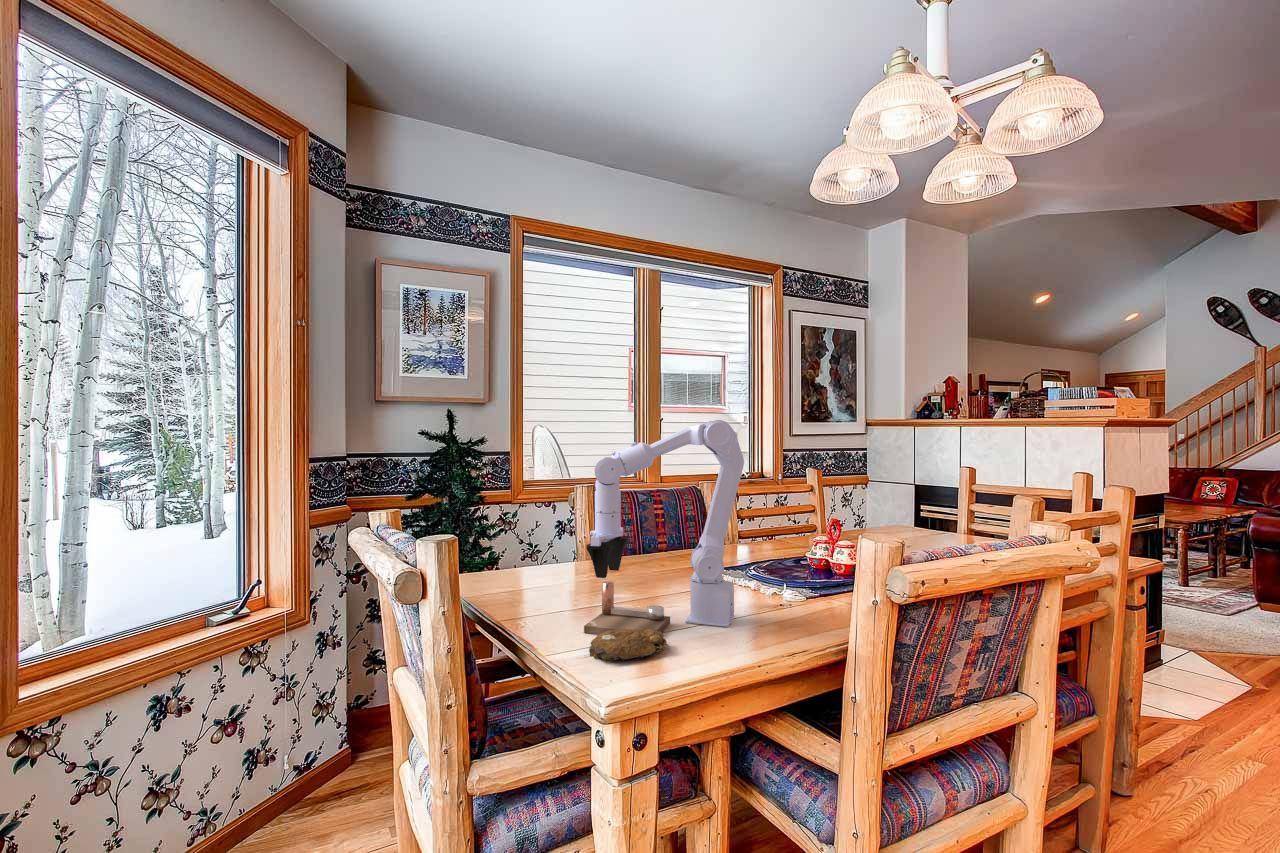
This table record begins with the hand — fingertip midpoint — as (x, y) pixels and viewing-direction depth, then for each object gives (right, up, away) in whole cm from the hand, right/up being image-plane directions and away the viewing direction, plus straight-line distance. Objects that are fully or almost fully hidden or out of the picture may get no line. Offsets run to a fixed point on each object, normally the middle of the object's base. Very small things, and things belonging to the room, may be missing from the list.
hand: (607, 573), depth 136 cm
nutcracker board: (+5, -10, -5) cm, 12 cm away
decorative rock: (+5, -11, -19) cm, 23 cm away
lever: (+5, -8, -2) cm, 10 cm away
